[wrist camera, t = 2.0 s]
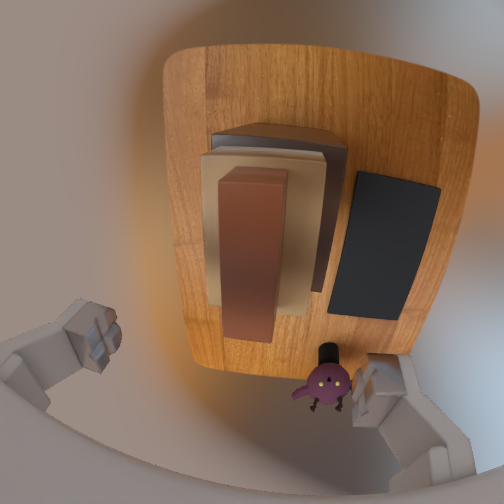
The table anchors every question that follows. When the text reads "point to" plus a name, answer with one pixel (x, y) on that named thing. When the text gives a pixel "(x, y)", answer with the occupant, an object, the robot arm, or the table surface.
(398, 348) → the table surface
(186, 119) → the table surface
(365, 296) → the mat
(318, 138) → the riser
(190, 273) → the table surface
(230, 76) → the table surface
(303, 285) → the stepped wooden block
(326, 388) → the figurine
